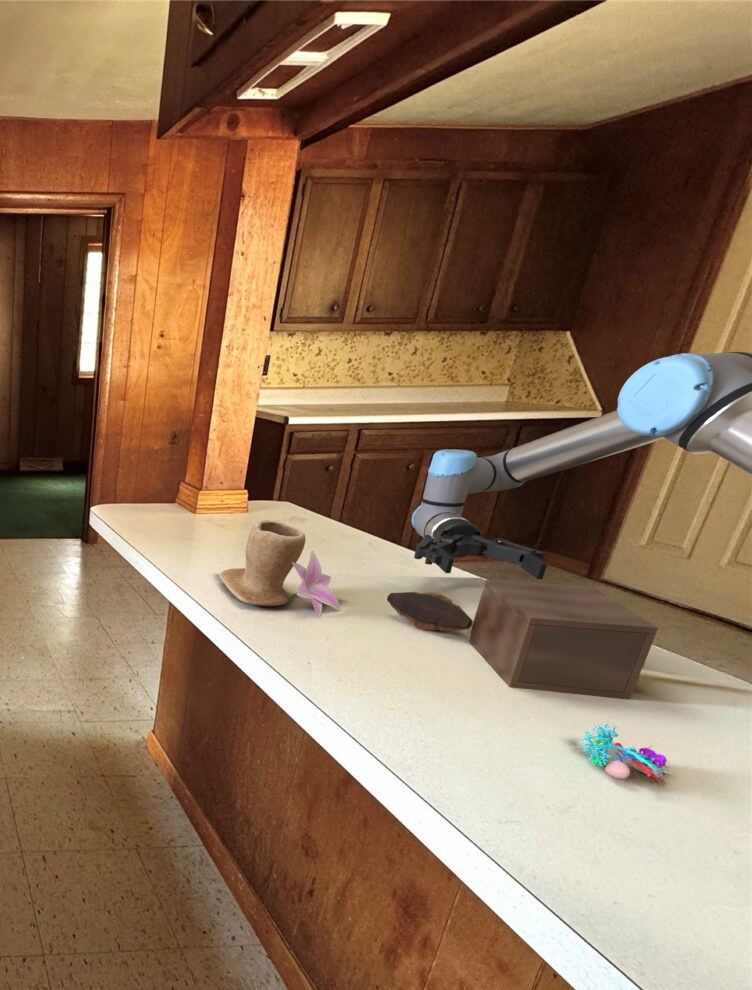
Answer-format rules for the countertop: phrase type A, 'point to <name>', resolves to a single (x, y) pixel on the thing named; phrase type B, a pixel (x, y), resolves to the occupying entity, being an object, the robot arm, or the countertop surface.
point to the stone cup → (266, 564)
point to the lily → (315, 585)
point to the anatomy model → (641, 762)
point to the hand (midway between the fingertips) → (495, 569)
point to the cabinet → (561, 638)
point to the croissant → (430, 611)
